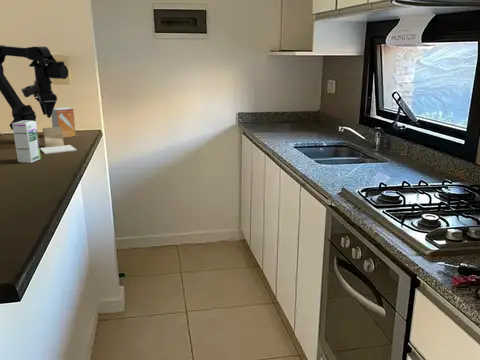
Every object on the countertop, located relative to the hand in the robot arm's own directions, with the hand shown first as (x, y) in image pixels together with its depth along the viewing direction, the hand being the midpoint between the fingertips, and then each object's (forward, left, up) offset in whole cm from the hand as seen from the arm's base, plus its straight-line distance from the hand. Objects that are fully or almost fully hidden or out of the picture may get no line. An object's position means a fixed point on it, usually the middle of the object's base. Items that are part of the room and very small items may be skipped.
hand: (46, 116), depth 194 cm
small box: (-14, +9, -12) cm, 21 cm away
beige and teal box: (+7, 0, -12) cm, 14 cm away
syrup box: (+27, -13, -12) cm, 32 cm away
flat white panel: (+14, 0, -12) cm, 18 cm away
